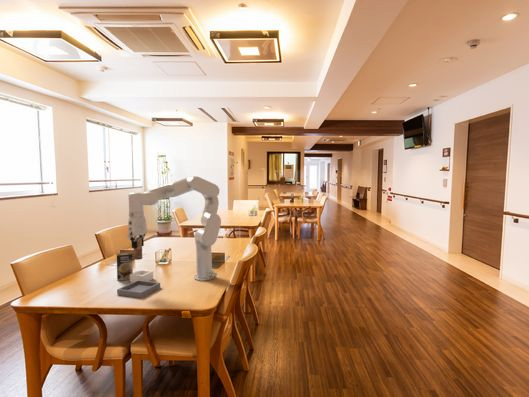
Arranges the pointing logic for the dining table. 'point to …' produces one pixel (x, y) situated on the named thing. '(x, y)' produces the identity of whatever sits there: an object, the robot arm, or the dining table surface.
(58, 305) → the dining table surface
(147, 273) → the white square block
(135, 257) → the dowel
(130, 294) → the tray
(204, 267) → the robot arm
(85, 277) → the dining table surface
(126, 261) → the coffee box
